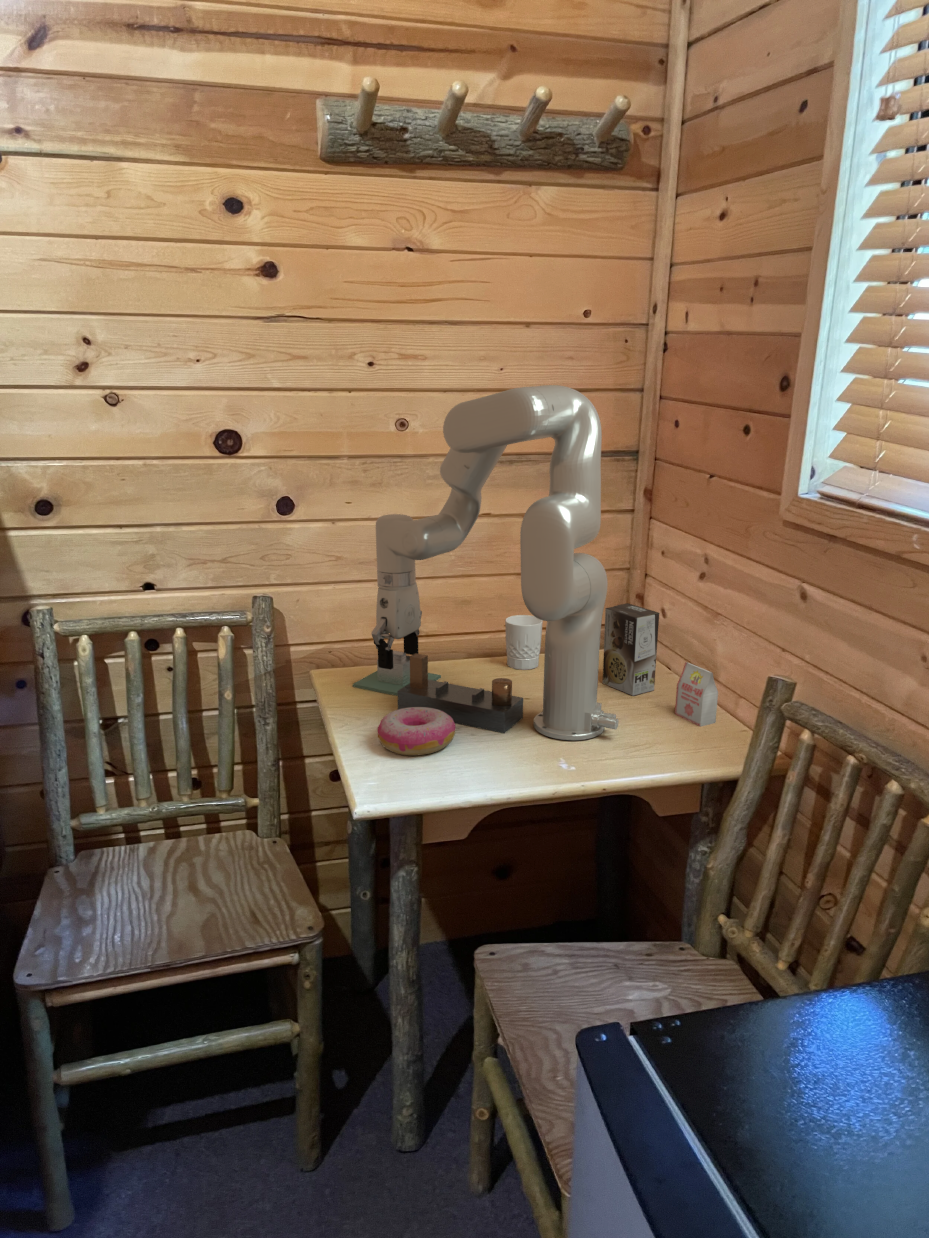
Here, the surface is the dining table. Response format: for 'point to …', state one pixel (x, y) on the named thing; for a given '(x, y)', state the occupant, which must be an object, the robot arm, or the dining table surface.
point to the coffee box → (630, 648)
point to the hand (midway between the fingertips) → (398, 661)
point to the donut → (416, 730)
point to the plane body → (462, 699)
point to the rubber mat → (385, 684)
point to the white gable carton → (696, 695)
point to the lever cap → (396, 670)
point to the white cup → (523, 641)
